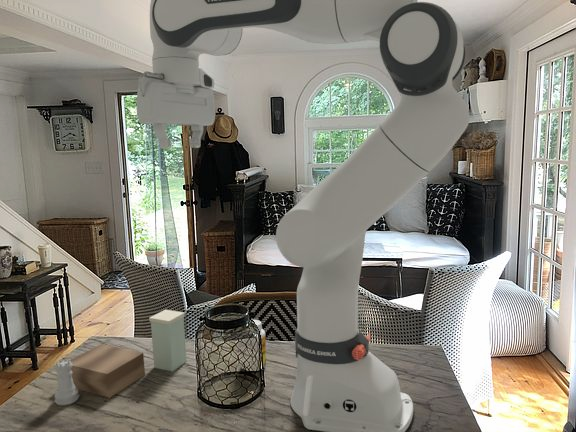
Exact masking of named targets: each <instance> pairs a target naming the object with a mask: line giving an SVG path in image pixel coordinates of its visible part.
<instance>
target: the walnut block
mask: <svg viewBox="0 0 576 432" xmlns="http://www.w3.org/2000/svg"><path fill="white" fill-rule="evenodd" d="M144 356H145V355H144V352H140V351H135V350H132V349H127V348H123V347H119V346H118V347H117V346H112V345H108V344H104V343H101V344H99V345H97V346H94V347H93V348H91V349H89V350H87V351H85V352H83V353H81V354H79V355H77V356H75V357H73V358H71V359H70V361H71V363H72V364H73V366H72V368H71V371H72V372H73V373H72V379H73V383H74V385H76V387H77V388H78V390H79V391H84V392H87V393H90V394H94V395H98V396H100V397H104V398H109V399H110V398H111V397H113V396H115V395H117V394H118V393H119V392H121V391H123V390H125V388H127V387H129V386H130V385H132V384H133V383H135V382H136V381H138V380H139V379H141V378H142V377H144V376H146V371H145V369H146V367H145V357H144Z"/></svg>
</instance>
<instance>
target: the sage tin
mask: <svg viewBox="0 0 576 432" xmlns="http://www.w3.org/2000/svg"><path fill="white" fill-rule="evenodd" d="M185 316H186V313H185V312H183V311H178V310H177V311H176V310H171V309H163V310H162V311H160V312H157V313H156V314H154V315H151V316H150V317H149V318H148V319H149V322H150V326H151V327H150V329H151V341H152V353H153V355H152V357H153V367H154V368H156V369H160V370H163V371H169V372H174V371H176V369H178V368H180V367H181V366H182V365H184V364H185V363H186V362H187V351H186V350H187V349H186V347H187V346H186V333H185V319H184V318H185Z"/></svg>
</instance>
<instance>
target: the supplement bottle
mask: <svg viewBox="0 0 576 432" xmlns="http://www.w3.org/2000/svg"><path fill="white" fill-rule="evenodd" d="M252 320H253V321H254V322H255V324H256V325H257V327H258V329H259V331H260V335H261V344H262V352H263V365H264V369H265V368H266V366H267V351H266V350H267V347H266V342H267V341H266V332H265V330H264V329H263V327H262V322H261V321H260V320H259V319H252Z"/></svg>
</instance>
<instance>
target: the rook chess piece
mask: <svg viewBox="0 0 576 432" xmlns="http://www.w3.org/2000/svg"><path fill="white" fill-rule="evenodd" d="M70 360H71V359H70V358H64V360H63V359H59V361H56V362H55V364H56V365H55V367H54V370H55V371H56V372H57V374H56V377H57V380H58V382H57V388H56V392H55V393H54V403H56V404H57V405H58V406H61V407H62V406H69V405H72V404H74V403H75V402H77V400H78V399H79V398H80V393H79V391H80V390H79V389H78V388H77V387H76V385H74V383H73V379H72V373H73V372H72V371H71V368H72V366H73V364H72V363H71V361H70Z"/></svg>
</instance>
